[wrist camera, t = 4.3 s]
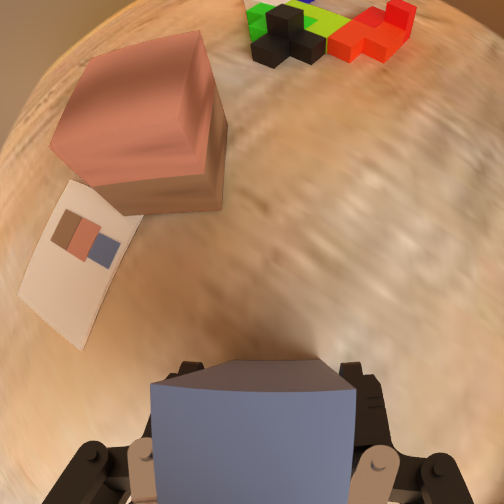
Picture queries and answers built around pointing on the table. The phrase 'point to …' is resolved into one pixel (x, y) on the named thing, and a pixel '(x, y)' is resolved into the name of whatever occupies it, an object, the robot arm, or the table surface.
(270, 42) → the building blocks
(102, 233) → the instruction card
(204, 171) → the pink and brown cube
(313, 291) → the table surface
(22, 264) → the table surface
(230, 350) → the table surface
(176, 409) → the blue block
